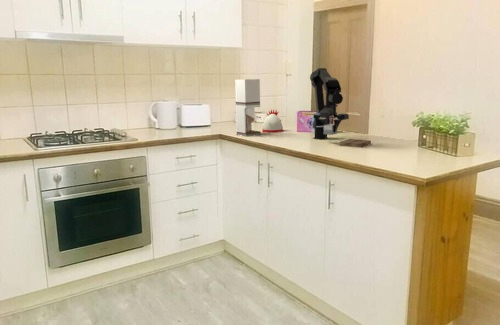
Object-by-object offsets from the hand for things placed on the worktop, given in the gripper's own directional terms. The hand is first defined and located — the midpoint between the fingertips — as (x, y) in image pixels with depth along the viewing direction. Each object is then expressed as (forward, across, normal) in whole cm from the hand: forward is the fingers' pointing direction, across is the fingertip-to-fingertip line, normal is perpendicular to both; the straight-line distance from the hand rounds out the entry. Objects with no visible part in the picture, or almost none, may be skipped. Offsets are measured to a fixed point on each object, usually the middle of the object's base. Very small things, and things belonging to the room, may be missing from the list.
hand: (330, 131), depth 225 cm
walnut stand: (+6, +14, +2) cm, 15 cm away
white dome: (+6, -57, +24) cm, 62 cm away
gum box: (+6, -31, +36) cm, 48 cm away
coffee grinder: (+6, -60, +2) cm, 60 cm away
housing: (+1, 0, 0) cm, 1 cm away
